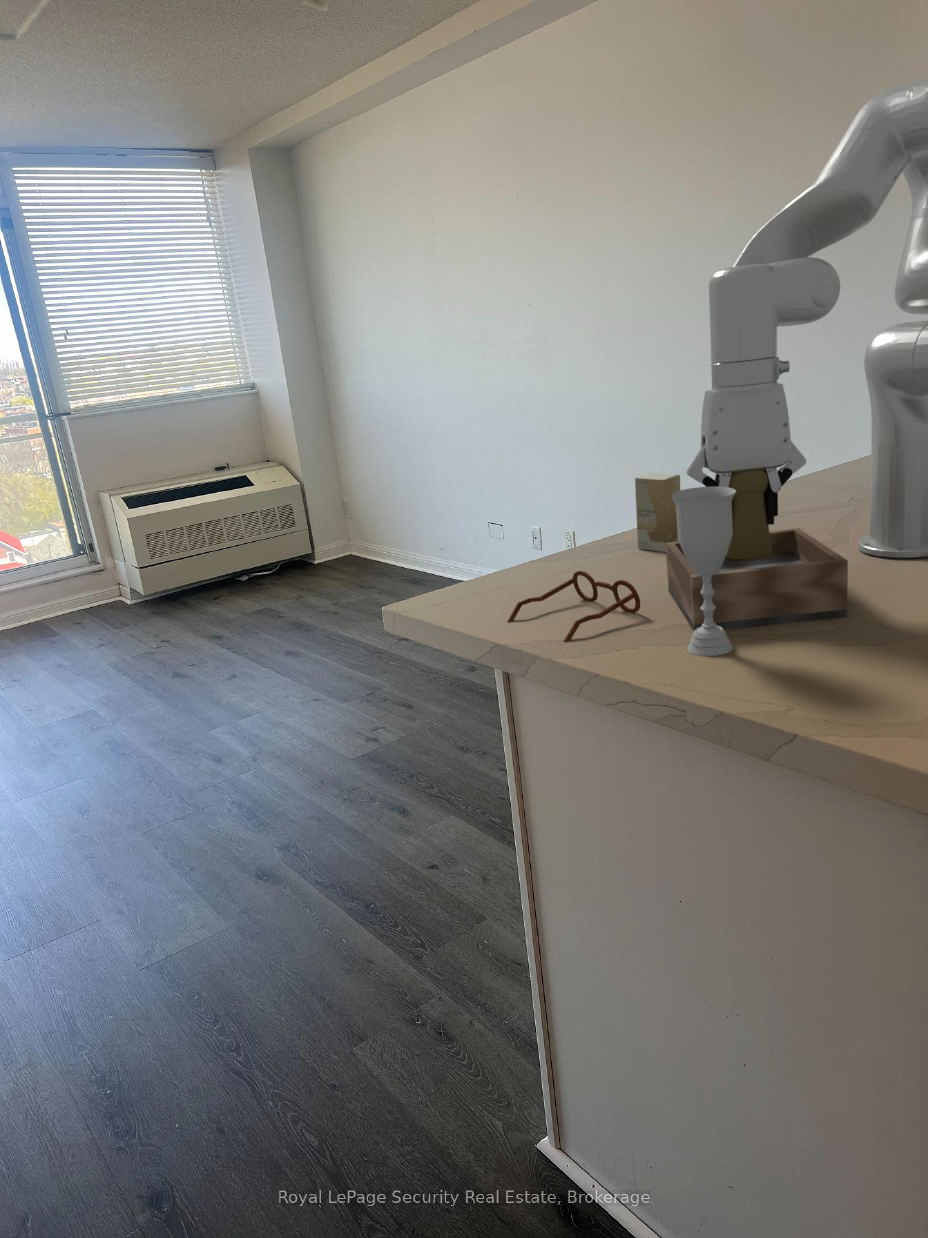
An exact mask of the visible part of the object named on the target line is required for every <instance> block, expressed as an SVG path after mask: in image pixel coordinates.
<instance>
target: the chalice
mask: <svg viewBox="0 0 928 1238" xmlns="http://www.w3.org/2000/svg"><path fill="white" fill-rule="evenodd" d="M735 492H736V490H735V489H733V488H729V487H706V486H699V487H690V488H684V489H680V491H677V492H674V493H672V495H671V497H672V498H673V500H674V502H675V504H676V513H677V532H678V540H679V542H680V545H681V548H682V550H683V553H684V555H685V557H686V558H687V560H688V562H689V564H690V566H691V568H692V569H693V571H694V573H695V574H698V575H701V576H702V579H703V587H702V590H701V592H700V593H701V594H702V595H703V598H704V603H703V605H702V606H701V608H700V609H701V610H702V611H703V612H704V616H705V620H704V623H703V624H702V626H701V627H698V628H697V629H696V630H695V631H693V633H692V637H691V638H690V640H689V641H690V643H689V645H688V646H687V652H689V653H691V654H694V655H697V656H703V657H712V656H713V657H714V656H720V655H724V654H727V653H730V652H731V651H733V649H734V646H733V645H732V644H731V642H730V638H729V637H728V635H727V632H726V630H724V629H723V628H722V627H720V626H716V624H715V623H714V621H713V618H712V617H713V611H714V610H715V609H716V607H715V606H714V605H713V602H712V596H713V594H714V592H715V591H714V590H713V588H712V584H711V578H712V575H714V574H716V573H718V572H719V571H720V568H721V566H722V564H723V562H724V559H725V557H726V555H727V553H728V549H729V546H730V542H731V539H732V536H733V527H732V499H733V497H734V495H735Z"/></svg>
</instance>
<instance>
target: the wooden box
mask: <svg viewBox="0 0 928 1238" xmlns="http://www.w3.org/2000/svg"><path fill="white" fill-rule="evenodd" d="M769 533H770V540H771V547H772V554H771V555H769V556H766V557H762V558H756V559H733V558H728V557H725V559H724V562H723V564H722V566H721V568H720V571H719V572H718V573H716V574H714V575H712V578H711V584H712V588H713V590H714V591H715V592H714V594H713V596H712V602H713V605H714V606H715V607H716V609H715V610H714V611H713V617H712V618H713V621H714V623H715V624H716V626H720V627H722V628H723V629H724V630H725V631H726V630H735V629H741V628H742V629H744V628H745V629H746V628H753V627H763V626H764V627H765V626H774V625H782V624H783V625H784V624H792V623H802V622H813V621H822V620H832V619H842V618H848V594H849V593H848V589H849V588H848V579H849V578H848V576H849V574H848V571H849V570H848V568H849V567H848V566H849V565H848V564H849V563H848V562H849V560H848V559H846V557H843V556H841V554H839V553H837V552H836V551H834V550H833V549H831V548H830V547H828V546H827V545H826V544H823V543H822V541H821V542H820V541H819V540H818V539H816V538H814V537H813V536H812V535H810V534H809V533H807V532H805V531H804V530H802V529H801V528H800V527H798V528H789V529H782V530H772V531H770V530H769ZM665 553H666V569H667V570H666V571H667V572H666V573H667V589H668V593H669V594H670V596H671V598H672V599H673V600H674V601H673V602H675V603H676V605H677V607H678V609H679V610H680V612H681V613H682V615H683V617H684V618H685V620H686V621H687V623H688V625H689V626H690V627H691V629H692V631H693V632H694V631H695V630H696V629H697V628H698V627H701V626H702V624H703V623H704V620H705V616H704V612H703V611H702V610H701V609H700V608H701V606H702V605H703V603H704V598H703V595H702V594H701V593H700V592H701V590H702V587H703V579H702V576H701V575H698V574H695V573H694V571H693V569H692V568H691V566H690V564H689V562H688V560H687V558H686V557H685V555H684V553H683V550H682V548H681V545H680V542H671V543H666V552H665Z"/></svg>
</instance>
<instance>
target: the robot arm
mask: <svg viewBox="0 0 928 1238" xmlns="http://www.w3.org/2000/svg"><path fill="white" fill-rule="evenodd" d="M902 174H903V176H904V179H905V181H906V183H907V187H908V188H909V192H910V196H911V197H910V198H911V215H910V221H909V225H908V229H907V233H906V237H905V241H904V246H903V250H902V254H901V257H900V262H899V267H898V271H897V274H896V279H895V286H894V301H895V303H896V305H897V307H898V309H899V310H901V311H903V312H905V313H907V314H912V315H928V76H927V77H924V78H921V79H919V80H915V81H912V82H909V83H907V84H904V85H903V84H902V85H900V86H897V87H894V88H891V89H888V90H885V91H883V92H881V93H878V94H877V95H875V96H873V97H872V98H871V99H869V100H868V101H867V102H866V103H864V104H863V106H862V107H861V108H860V109H859V111H858V112H857V114H856V116H855V117H854V118H853V120H852V121H851V123H850V125H849V126H848V128H847V129H846V132H845V133H844V134H843V136H842V138H841V140H840V141H839V143H838V144H837V146H836V148H835V149H834V151H833V153H832V154H831V156H830V158H829V159H828V161H827V162H826V164H825V165H824V166H823V168H822V170H821V171H820V173H819V175H818V177H817V178H816V179H815V181H814V182H813V183H812V184H811V185H810V186H809V187H808V188H807V189H805V190H804V191H803V192H802V193H800V194H799V195H798V196H797V197H796V198H794V199H793V200H792V201H791V202H790V203H789V204H787V205H786V206H785V207H784V208H783V209H782V210H780V211H779V212H778V213H777V214H775V215H774V216H773V217H772V218H771V219H770V220H769V221H767V222H766V223H765V224H764V225H763V226H762V227H761V228H760V229H759V230H758V231H757V232H755V234H754V235H753V236H752V238H751V239H750V240H749V241H748V242H747V244H746V245H745V247H744V249H743V250H742V251H741V253H740V255H739V256H738V258H737V260H736V262H734V264H733V266H732V267H727V268H722V269H720V270H718V271H716V272H714V273H713V274H712V276H711V277H710V280H709V283H708V299H709V300H708V301H709V302H708V303H709V331H710V333H709V334H710V361H711V362H710V363H711V364H710V365H711V368H710V371H711V389H709V390H705V392H704V397H703V403H702V409H701V410H702V411H701V424H700V425H701V426H700V450H699V451H698V453H697V455H696V456H695V458H694V459H693V461H692V462H691V463H690V465H689V466H688V468H687V470H686V474H687V476H689V478H692V479H693V480H695V481H697V482H698V483H700V484H702V485H704V487H729V482H730V477H731V473H733V472H741V471H747V470H762V469H765V471H766V473H767V476H768V485H767V488H766V490H765V491H764V499H765V506H766V514H767V523H768V526H770V525H775V517H777V516H778V515H779V492H780V491H781V490H782V487H783V486H784V485H785V484H786V483H787V482H788V480H790V478H791V477H792V476H793V474H794V473H796V472H798V471H799V470H801V469H802V468H803V466H805V465H806V463H807V459H806V457H805V456H804V455H803V453H801V451H800V450H799V449H798V447H797V446H796V445H795V443H793V441H792V440H791V437H792V436H791V425H790V418H789V409H788V402H787V399H786V397H787V396H786V394H785V389H784V385H783V383H780V382H778V380H779V379H780V376H781V375H782V374H784V373H789V372H790V368H791V367H790V366H791V364H790V361H789V360H784V361H783V360H780V358H779V356H778V339H777V338H778V327H789V326H790V327H792V326H799V325H806V324H811V323H814V322H816V321H819V320H820V319H824V317H825V316H827V315H828V314H830V312H831V311H832V309H833V308H834V307H835V306H836V304H837V302H838V301H839V296H840V293H841V281H840V276H839V274H838V272H837V270H836V269H835V267H834V266H833V265H832V264H831V263H830V262H828V261H826V260H824V259H823V258H822V259H821V258H818V257H812V256H813V255H814V254H816V253H818V252H819V251H822V250H823V249H824V250H825V249H826V248H828V247H829V246H832V245H834V244H836V243H838V242H840V241H842V240H844V239H845V238H848V237H849V236H851V235H853V234H854V233H856V232H857V231H859V230H861V229H862V228H864V227H865V226H867V225H868V224H869V223H870V222H871V221H873V219H874V218H875V217H876V215H877V214H878V212H879V211H880V209H881V207H882V206H883V204H884V203H885V202H884V201H885V200H886V199H887V198H888V195H889V193H890V192H891V190H892V189H893V187H894V186H895V184H896V182H897V181H898V178H899V177H900V175H902ZM863 362H864V363H863V364H864V365H863V366H864V374H865V380H866V384H867V388H868V393H869V402H870V417H871V446H870V447H871V451H870V452H871V453H870V509H869V510H870V511H869V512H870V514H869V515H870V516H869V518H870V519H869V521H870V523H869V525H870V526H869V527H870V528H869V530H870V533H869V534H868V535H864V536H862V537H861V538H859V540H858V549H859V551H861V552H862V553H865V554H867V555H871V556H875V557H882V558H893V559H895V558H896V559H913V558H915V559H916V558H926V557H928V320H921V321H908V322H902V323H897V324H893V325H891V326H888V327H886V328H884V329H882V330H880V331H879V332H878V333H876V335H874V336H873V338H872V339H871V340H870V341H869V343H868V344H867V347H866V350H865V354H864V361H863ZM703 468H705V469H708V470H709V471H710V472H712V473H713V474H714V479H713V478H712V477H711V476H709V475H708V474H706V473H705V472H703ZM777 468H779V469H777Z"/></svg>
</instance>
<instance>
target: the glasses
mask: <svg viewBox="0 0 928 1238" xmlns="http://www.w3.org/2000/svg"><path fill="white" fill-rule="evenodd" d="M579 576H581V577H584V578H585V579H587V580H588V582H589V583H590V585H591V588H592V595H593V596H592V597H589V596H586V594H584V593H583V592H582V590H581V588H580V586H579V583H578V577H579ZM571 585H573V587H574V589H575V592H576V594H578V596H579V597H580V598H581V599H582V600H583V601H586V602H589V603H594V602H596V601H597V599H598V596H599V595H598V594H599V593H598V587H600V588H604V589H607V590H610V591H611V592H612V593H613V596H614V600H615V601H616V602H614V603H613V604H611V605H609V606H608V607H607V608H605V609H603V610H601V611H600V612H598V613H594V614H588V615H586V616H585V615H584V617H581V618H579V619H577V620H575V621H574V623H573V624H572V626H571V628H570V629H569V631H568V633H567V634H566V635H565V637H564V639H563V642H564V643H567V642H570V641H571V640H572V638H573V637H574V636H575V633H576V632H577V630H578V628H579V627H580V625H581V624H583V623H586V622H588V621H591V620H597V619H602V618H603V617H605V616H606V615H608V614H611V613H612V612H614V611H615V610H616V609H618V608H620V609H621V610H622V611H624V612H625V613H629V612H630V614H636V613H637V612H639V610H640V609H641V599H640V595H639V593H638V591H637V590H636V588H635V586H634V585H633V584H631V582H629V581H628V580H627V581H626V580H623V579H620V580H617V581H615V582H614V583H613V584H610V583H609V582H604V581H598V580H597V581H595V579H594V578H593V577H592V576H591V574H589V573H587V572H586V571H583V570H578V571H575V572H574V573H573V575H572V578H571V579H569V580H566V581H565V582H563V583H561V584H560V585H558V586H556V587H554V588H553V589H551V590H548V591H547V592H546V593H543V594H542V595H540V596H535V597H530V598H526V599H524V600H522V601H519V602H517V604H516V606H515V607H514V609H513V611H512V613H511V614H510V616H509V618H508V620H507V621H506V622H507V623H512V622H514V620H515V619H516V617H517V615H518V613H519V612H520V610H521V608H522V606H524V605H527V604H531V603H536V602H537V603H538V602H544V601H545V600H547V599H548V598H550V597H552V596H554V595H555V594H557V593H559V592H560V591H562V590H565V588H568V587H569V586H571ZM619 586H624V587H626V588H627V589H628V590H629V591H630V592H631V593H630V594H628V595H627V596H625V597H623V598H620V596H619V593H618V592H619V591H618V588H619ZM633 599H634V601H635V602H634V603H635V605H634V607H633V608H631V607H628V606H626V605H625V604H627V603H629V602H630V601H632V600H633Z"/></svg>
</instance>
